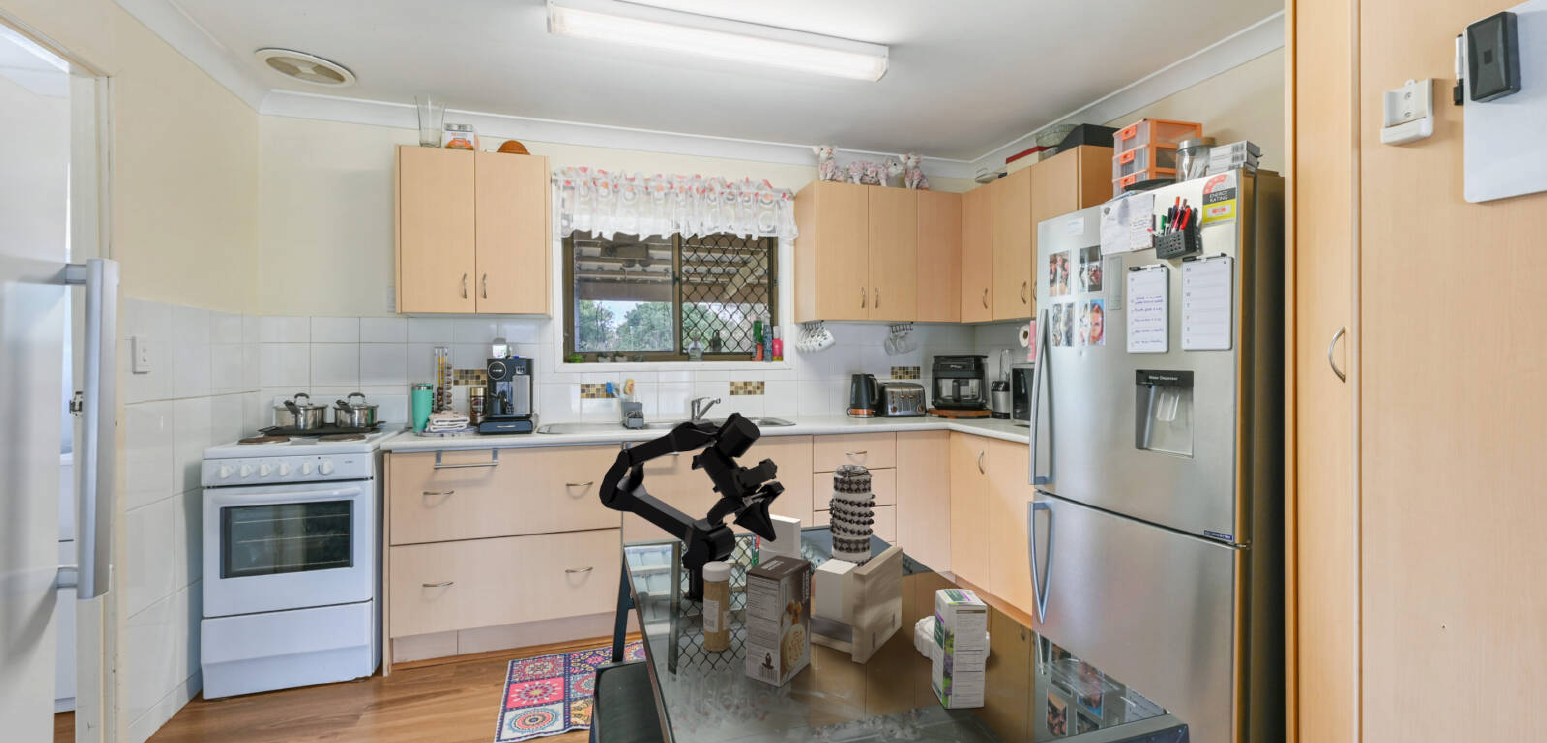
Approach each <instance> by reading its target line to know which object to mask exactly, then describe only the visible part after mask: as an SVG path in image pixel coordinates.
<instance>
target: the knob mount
mask: <svg viewBox="0 0 1547 743" xmlns="http://www.w3.org/2000/svg"><path fill="white" fill-rule="evenodd" d="M903 553H904V547H901V546H896V545H891V546H889V547H888V548H886V549H885V550H883V551H882V552H881V553H879V554H878V555H877V556H875V557H873V559H872V560H871V561H869V562H868V563H866V564H865V565H863V566H862V567H860V568H859V569H858V570H856V571H855V572H853V624H852V625H850V624H846V623H842V622H838V621H835V620H831V619H827V618H823V617H819V616H816V615H815V614H812V613H811V643H813V644H816V645H820V646H824V647H828V648H830V649H834V650H837V651H841V652H844V653H848V654H851V661H853V662H856V663H859V664H862V665H864V664H866V663H867V661H868V660H870V658H871V657H873V655H874V654H875V653H876V652H877V651H878V650H880V649H881V648H882V646H883V645H885V644H886V642H887V641H888V640H889V639H890V638H891V637H893V635H895V633H896V632H898V630H899V629H901V627H902V621H903V620H902V619H903V618H902V617H903V615H902V612H903V573H904V572H903V565H904V564H903V563H904V561H903V560H904V554H903Z"/></svg>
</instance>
